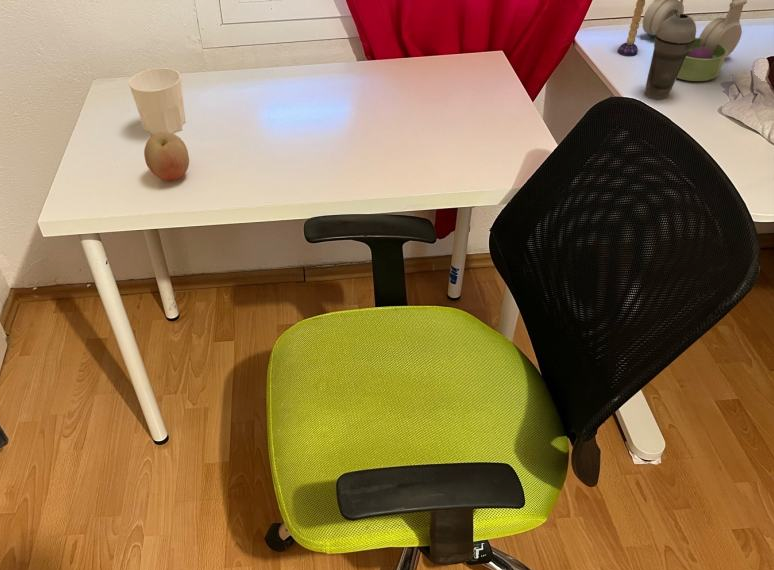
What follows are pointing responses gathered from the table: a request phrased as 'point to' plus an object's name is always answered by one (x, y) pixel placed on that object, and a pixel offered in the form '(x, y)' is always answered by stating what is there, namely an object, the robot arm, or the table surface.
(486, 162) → the table surface
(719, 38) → the headphones
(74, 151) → the table surface
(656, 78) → the beverage cup
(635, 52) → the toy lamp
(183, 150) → the fruit
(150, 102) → the cup
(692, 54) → the ball
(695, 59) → the bowl
